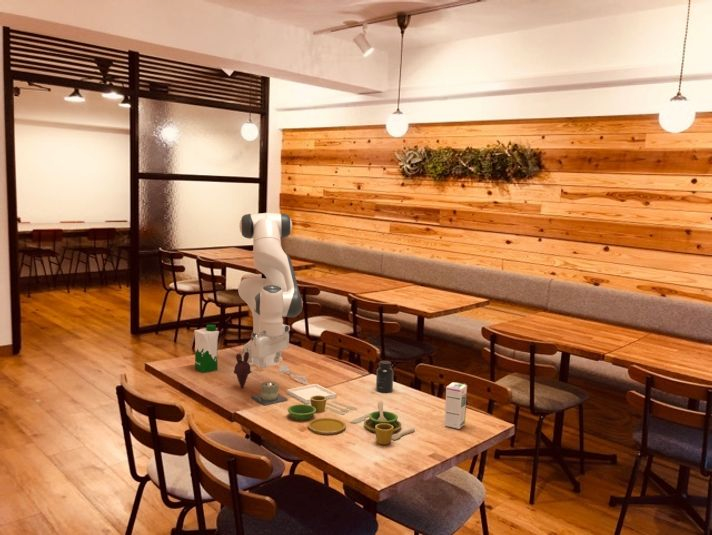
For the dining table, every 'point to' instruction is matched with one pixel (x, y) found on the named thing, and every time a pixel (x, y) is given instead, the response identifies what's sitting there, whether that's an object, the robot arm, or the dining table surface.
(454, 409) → the syrup box
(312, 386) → the tray
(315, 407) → the tableware set
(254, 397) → the stand
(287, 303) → the robot arm
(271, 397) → the napkin ring
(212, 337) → the milk carton
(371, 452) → the dining table surface
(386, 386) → the supplement bottle
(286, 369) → the stirrer
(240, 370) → the icecream
